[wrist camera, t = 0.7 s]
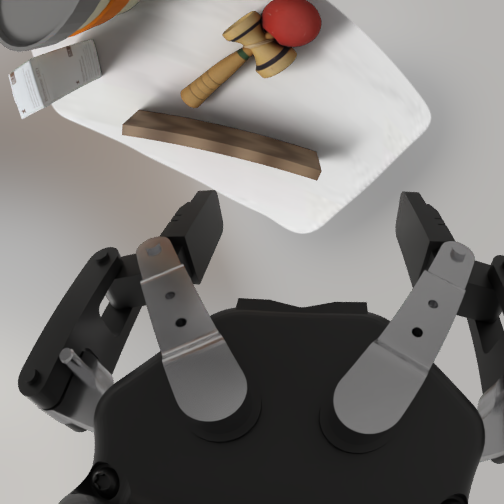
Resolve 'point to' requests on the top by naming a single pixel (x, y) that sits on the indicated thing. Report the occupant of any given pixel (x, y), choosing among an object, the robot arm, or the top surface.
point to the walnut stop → (223, 141)
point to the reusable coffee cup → (52, 20)
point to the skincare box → (53, 76)
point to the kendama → (260, 44)
